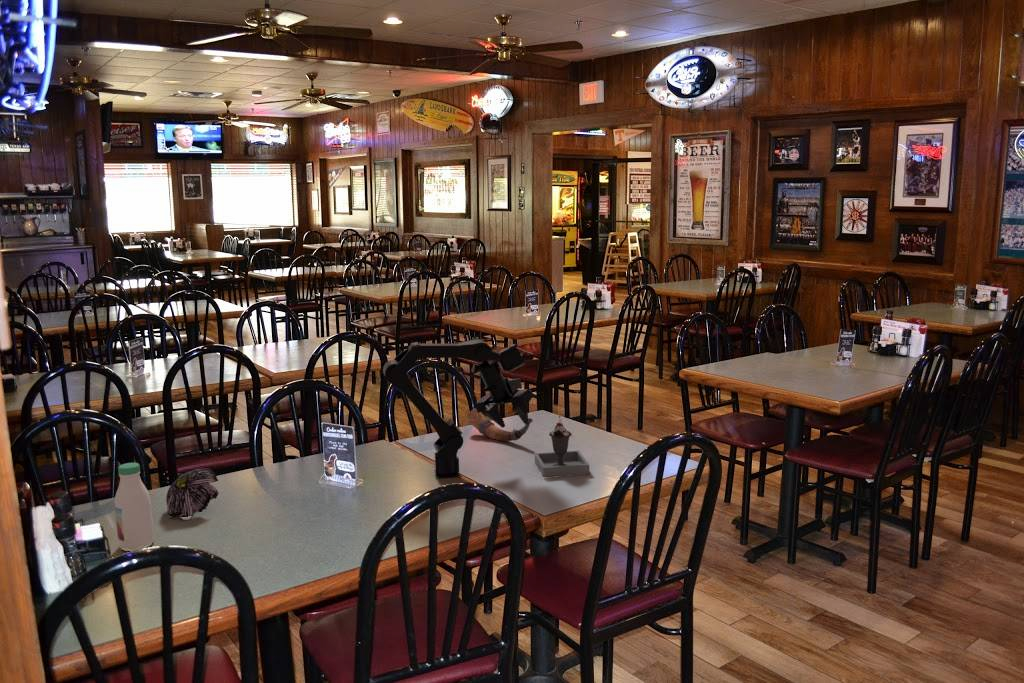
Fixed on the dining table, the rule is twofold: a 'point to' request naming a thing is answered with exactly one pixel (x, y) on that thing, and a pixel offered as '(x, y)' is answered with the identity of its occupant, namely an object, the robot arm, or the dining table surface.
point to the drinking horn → (494, 427)
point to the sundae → (560, 441)
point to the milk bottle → (133, 509)
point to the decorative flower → (191, 492)
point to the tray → (573, 467)
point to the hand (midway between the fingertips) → (515, 425)
